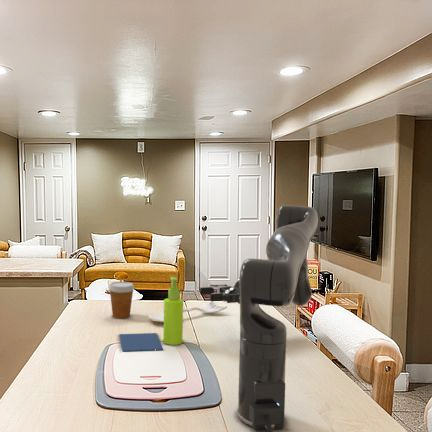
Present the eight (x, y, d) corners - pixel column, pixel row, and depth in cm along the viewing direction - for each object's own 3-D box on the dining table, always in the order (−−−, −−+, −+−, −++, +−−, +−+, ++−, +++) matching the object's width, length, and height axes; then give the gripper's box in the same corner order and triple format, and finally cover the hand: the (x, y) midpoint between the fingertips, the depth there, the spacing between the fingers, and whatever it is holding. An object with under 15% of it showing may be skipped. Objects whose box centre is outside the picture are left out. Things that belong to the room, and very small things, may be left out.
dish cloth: (163, 350, 127) (163, 348, 127) (122, 351, 125) (122, 350, 125) (156, 334, 141) (156, 333, 141) (119, 335, 139) (119, 334, 139)
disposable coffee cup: (104, 314, 163) (104, 282, 162) (128, 311, 167) (128, 280, 166) (113, 321, 154) (114, 288, 153) (138, 318, 158) (138, 285, 157)
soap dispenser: (180, 337, 138) (181, 275, 137) (183, 344, 131) (184, 279, 130) (162, 337, 138) (163, 275, 137) (164, 344, 131) (165, 279, 130)
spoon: (227, 314, 164) (228, 305, 163) (157, 327, 147) (157, 317, 147) (212, 308, 171) (212, 300, 171) (143, 320, 155) (143, 311, 154)
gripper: (241, 276, 146) (197, 277, 142) (263, 285, 133) (214, 287, 129) (241, 297, 147) (196, 300, 143) (262, 309, 133) (213, 312, 129)
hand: (205, 294), depth 136 cm, fingers open, 8 cm apart
